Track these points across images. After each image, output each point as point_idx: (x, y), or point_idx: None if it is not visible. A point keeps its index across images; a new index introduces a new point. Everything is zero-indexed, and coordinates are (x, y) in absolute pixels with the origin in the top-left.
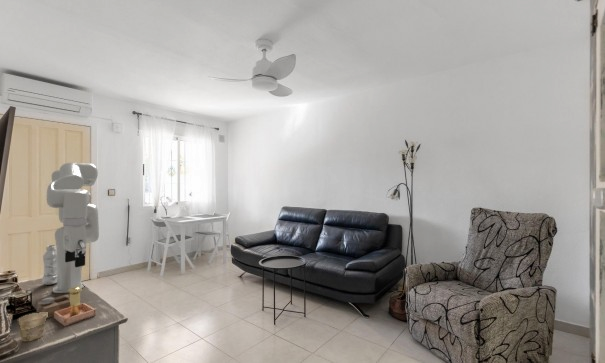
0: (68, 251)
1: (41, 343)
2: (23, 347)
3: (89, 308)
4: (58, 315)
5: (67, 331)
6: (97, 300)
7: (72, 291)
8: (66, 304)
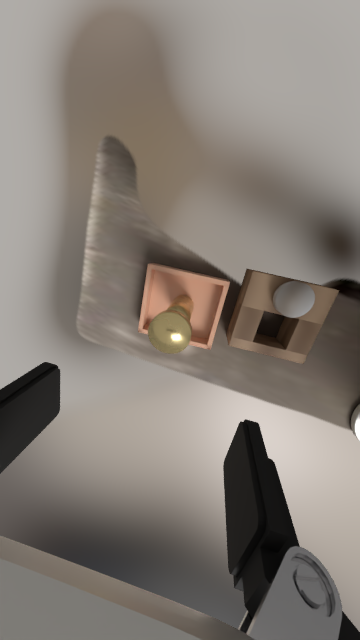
0: (262, 568)
1: (111, 185)
2: (128, 151)
3: None
4: (193, 273)
5: (119, 249)
6: (224, 383)
7: (156, 315)
8: (235, 320)
